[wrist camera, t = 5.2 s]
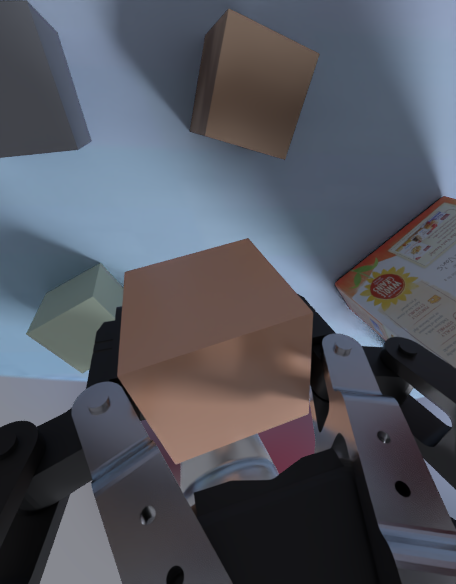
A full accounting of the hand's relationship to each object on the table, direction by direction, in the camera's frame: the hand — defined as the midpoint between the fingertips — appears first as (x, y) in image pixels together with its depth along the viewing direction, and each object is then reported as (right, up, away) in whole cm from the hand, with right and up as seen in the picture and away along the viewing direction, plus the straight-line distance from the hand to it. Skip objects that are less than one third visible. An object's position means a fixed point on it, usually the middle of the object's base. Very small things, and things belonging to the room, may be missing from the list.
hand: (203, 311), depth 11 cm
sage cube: (-10, 0, +11) cm, 15 cm away
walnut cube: (+1, +14, +6) cm, 15 cm away
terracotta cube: (0, 0, 0) cm, 1 cm away
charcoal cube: (-10, +12, +3) cm, 16 cm away
